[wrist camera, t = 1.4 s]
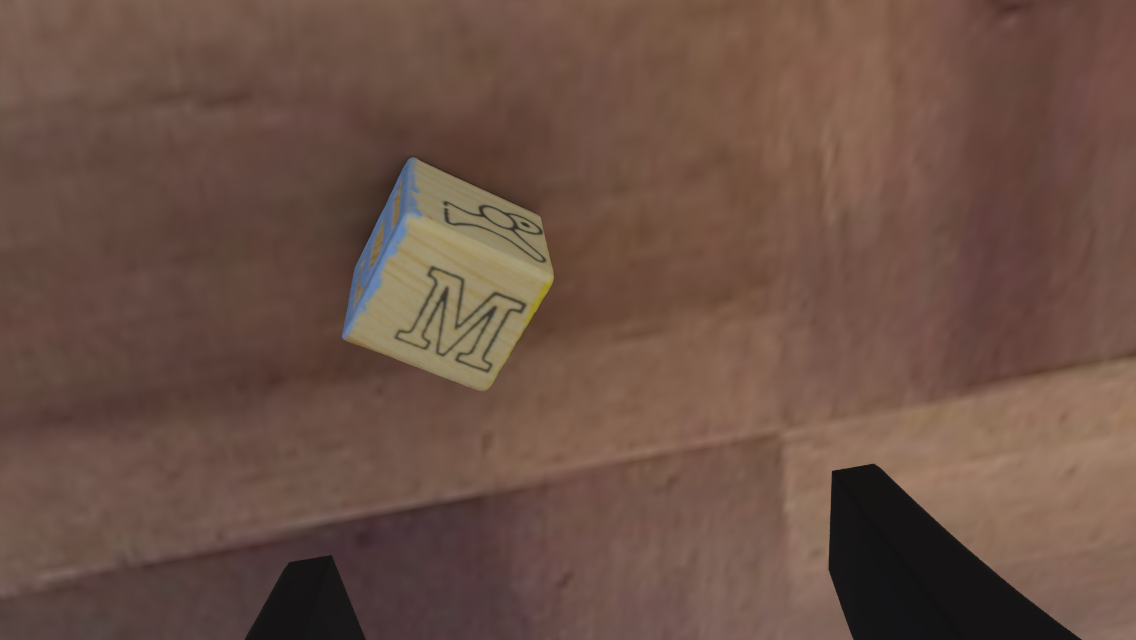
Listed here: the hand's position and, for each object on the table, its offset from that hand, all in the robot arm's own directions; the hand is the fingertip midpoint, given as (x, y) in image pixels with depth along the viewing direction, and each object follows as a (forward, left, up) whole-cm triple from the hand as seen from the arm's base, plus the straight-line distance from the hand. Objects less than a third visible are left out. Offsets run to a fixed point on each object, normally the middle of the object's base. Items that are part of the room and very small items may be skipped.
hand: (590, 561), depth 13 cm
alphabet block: (-1, +2, -9) cm, 9 cm away
